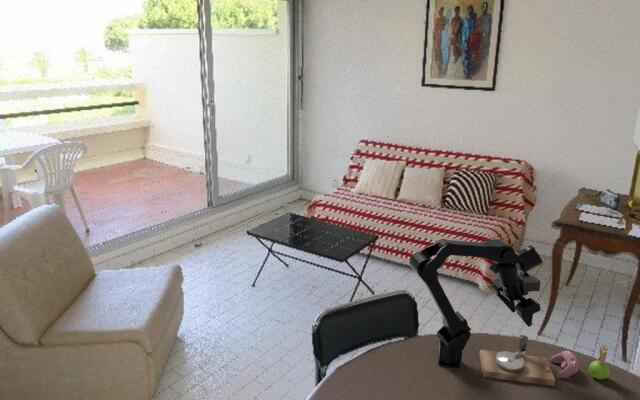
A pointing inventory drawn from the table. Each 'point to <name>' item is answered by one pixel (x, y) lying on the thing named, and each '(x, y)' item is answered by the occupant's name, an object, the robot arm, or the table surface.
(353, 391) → the table surface
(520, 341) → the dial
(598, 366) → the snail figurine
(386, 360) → the table surface
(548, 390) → the table surface
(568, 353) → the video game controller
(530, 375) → the stand
